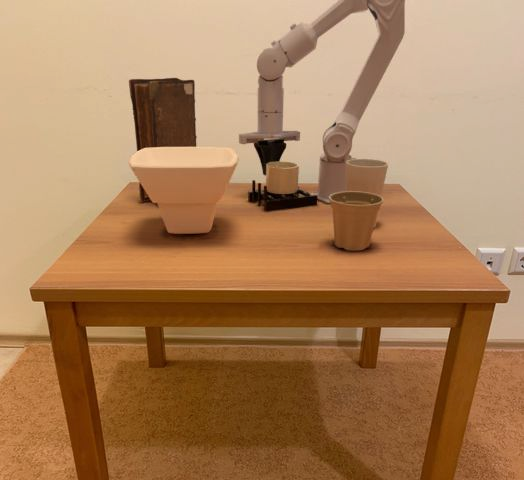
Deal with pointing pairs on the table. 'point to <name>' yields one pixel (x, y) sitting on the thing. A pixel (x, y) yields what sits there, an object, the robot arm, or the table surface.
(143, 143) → the book
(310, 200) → the rack
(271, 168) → the beige mug
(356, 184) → the cup
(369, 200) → the flower pot
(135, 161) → the bowl
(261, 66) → the robot arm
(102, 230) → the table surface
